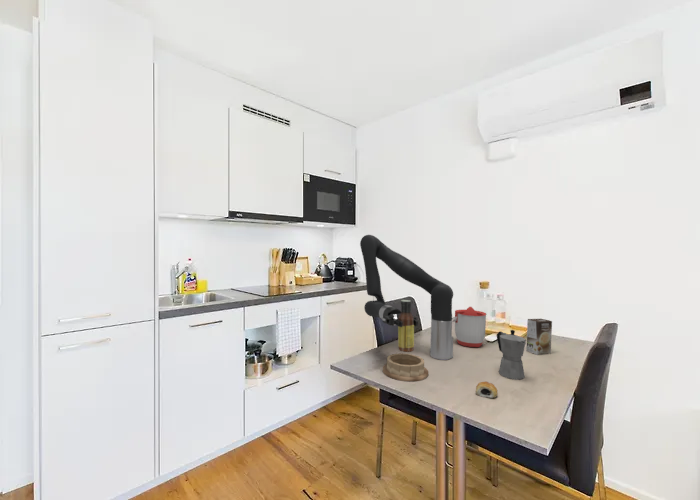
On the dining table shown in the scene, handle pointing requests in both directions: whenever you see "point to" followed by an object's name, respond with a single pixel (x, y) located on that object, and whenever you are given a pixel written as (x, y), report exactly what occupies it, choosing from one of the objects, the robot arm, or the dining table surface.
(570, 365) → the dining table surface
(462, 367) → the dining table surface
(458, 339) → the citrus juicer
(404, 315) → the sauce bottle
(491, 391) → the pastry
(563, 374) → the dining table surface
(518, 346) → the coffeepot
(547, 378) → the dining table surface
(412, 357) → the bottle holder
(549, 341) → the coffee box
